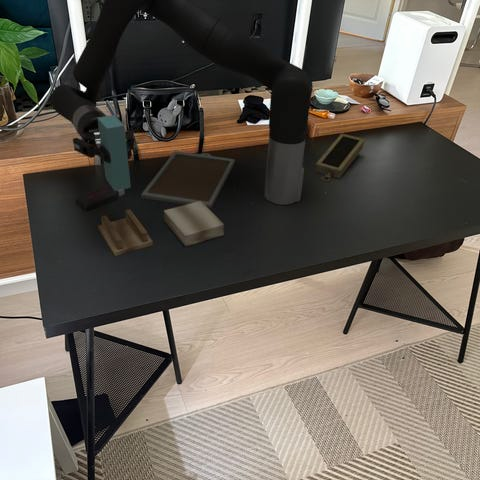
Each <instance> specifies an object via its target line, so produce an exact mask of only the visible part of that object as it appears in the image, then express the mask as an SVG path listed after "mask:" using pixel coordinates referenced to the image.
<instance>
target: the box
mask: <svg viewBox="0 0 480 480" xmlns="http://www.w3.org/2000/svg"><path fill="white" fill-rule="evenodd" d="M364 143H365V139H364V138H360V137H357V136H353V135H348V134H345V133H340V134H339V136H338V137H337V138H336V140H335V141H333V143H332V144H331V145H330V147H329V148H328V149H327V150H326V151H325V153H324V154H322V156H321V157H320V158H319V159H318V161H317V162H316V163H315V166H316V169H315V171H316V173H318V174H321V175H324V176H321V178H320V179H321V181H323V182H326V183H330V182H331V179H332V178H335V179H339V180H340V179H341V177H342V176H343V174H345V172H346V170H347V169H349V167H350V165H351V164H352V163H353V162H354V160H355V159H356V158H357V156H359V154H360V152H361V151H362V150H363V147H364V145H365V144H364Z"/></svg>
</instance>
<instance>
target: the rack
mask: <svg viewBox="0 0 480 480" xmlns="http://www.w3.org/2000/svg"><path fill="white" fill-rule="evenodd" d="M124 212H125V213H124V214H125V218H121V219H117V220H114V221H110V219H109V217H108V216H107V215H102V216H100V219H101V224H98V225H97V230H98V231H99V232H100V234H101V236H102V237H103V239H104V240H105V242H106V244H107V245H108V247H109V249H110V250H111V252H112V253H113V254H112V255H114V257H117V256H120V255H123V254H127V253H130V252H134V251H137V250H140V249H145V248H147V247H151V246H153V245H154V242H153V239H152V238H151V237H150V235H149V234H148V232H147V230H146V228H145V227H144V226H143V224H141V221H140V220H139V219H138V218H137V217H136V215H135V214H134V213H133V211H132V210H131V209H130V208H129V209H126V210H125V211H124Z"/></svg>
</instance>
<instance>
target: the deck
mask: <svg viewBox="0 0 480 480" xmlns="http://www.w3.org/2000/svg"><path fill="white" fill-rule="evenodd" d="M163 216H164V217H163V219H164V220H163V221H164V222H165V223H166V225H167V226H168V227H169V229H170V230H171V231H172V232H173V233H174V235H176V237H177V238H178V239H179V240H180V242H181V243H182V244H183V246H184V247H188V246H192V245H196V244H198V243H202V242H206V241H207V240H208V241H209V240H212V239H215V238H218V237H221V236H224V233H225V224H224V223H223V222H222V220H220V219H219V218H218V217H217V215H215V214H214V213H213V212H212V211H211V210H210V208H207V207H206V206H205V205H204V204H203V203H202V202H201V201H198V202H194V203H191V204H187V205H185V204H182V205H180V206H176V207H172V208H168V209H165V210H163Z"/></svg>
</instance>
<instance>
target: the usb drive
mask: <svg viewBox="0 0 480 480" xmlns="http://www.w3.org/2000/svg"><path fill="white" fill-rule="evenodd" d="M125 194H126V192H125V189H122V190H118V191H114V189H113V188H112V186H111V185H110V184H109V185H106V186H103V187H100V188H98V189H96V190H93V191H90V192H87V193H85V194H83V195H80V196H77V197H76V198H75V205H77V206H78V207H79V208H80V209H82V210H83V211H85V212H86V213H88V212H91V211H93V210H95V209H98V208H100V207H103V206H105V205H107V204H108V205H109V204H110V203H112V202H115V201H117V200H118V199H119V198H120V197H122V196H124V195H125Z"/></svg>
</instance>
